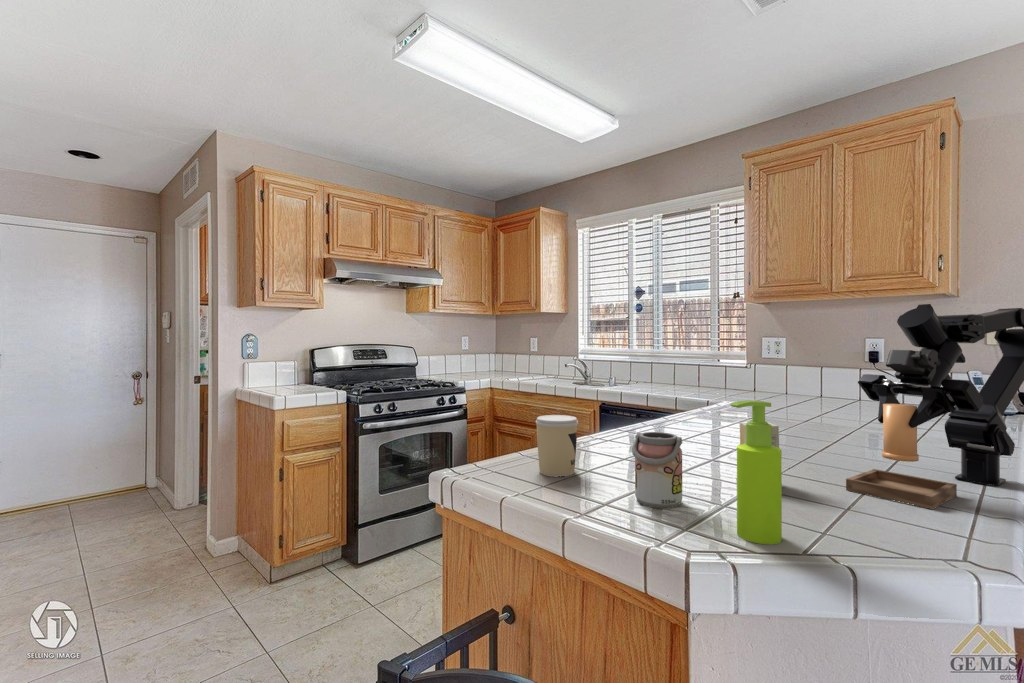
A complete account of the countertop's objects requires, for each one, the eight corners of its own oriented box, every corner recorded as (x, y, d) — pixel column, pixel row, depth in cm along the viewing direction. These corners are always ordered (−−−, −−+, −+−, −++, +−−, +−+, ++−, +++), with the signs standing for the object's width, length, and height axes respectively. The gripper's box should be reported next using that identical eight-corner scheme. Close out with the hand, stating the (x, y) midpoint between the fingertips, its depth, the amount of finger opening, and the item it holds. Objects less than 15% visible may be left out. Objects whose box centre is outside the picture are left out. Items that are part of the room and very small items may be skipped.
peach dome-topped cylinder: (883, 453, 96) (882, 402, 96) (918, 457, 92) (918, 405, 92) (881, 458, 91) (880, 405, 91) (918, 463, 88) (918, 408, 88)
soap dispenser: (722, 529, 74) (722, 399, 74) (765, 528, 75) (765, 398, 75) (744, 545, 68) (744, 403, 68) (790, 543, 69) (790, 403, 69)
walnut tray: (874, 479, 101) (874, 469, 101) (956, 496, 90) (956, 484, 90) (846, 490, 93) (846, 478, 93) (932, 509, 83) (932, 496, 83)
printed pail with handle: (674, 515, 80) (674, 442, 80) (625, 506, 85) (625, 437, 85) (688, 499, 88) (687, 433, 88) (642, 492, 93) (642, 429, 93)
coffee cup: (580, 478, 102) (580, 421, 102) (536, 478, 102) (536, 421, 102) (575, 466, 112) (575, 414, 112) (535, 466, 112) (534, 414, 112)
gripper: (863, 335, 102) (825, 390, 98) (972, 334, 84) (931, 400, 81) (889, 372, 104) (853, 426, 101) (1000, 378, 87) (962, 444, 83)
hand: (894, 423), depth 91 cm, fingers closed on peach dome-topped cylinder, 5 cm apart
